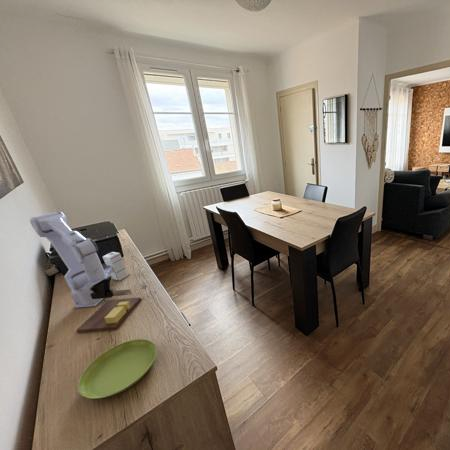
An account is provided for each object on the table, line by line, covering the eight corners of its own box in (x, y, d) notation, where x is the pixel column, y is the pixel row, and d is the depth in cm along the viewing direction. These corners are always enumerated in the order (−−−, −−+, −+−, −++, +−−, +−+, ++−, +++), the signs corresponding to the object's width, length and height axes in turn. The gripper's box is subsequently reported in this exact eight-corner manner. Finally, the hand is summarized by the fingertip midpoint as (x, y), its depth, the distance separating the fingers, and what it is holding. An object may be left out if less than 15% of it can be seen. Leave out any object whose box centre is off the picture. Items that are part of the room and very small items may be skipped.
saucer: (89, 422, 64) (85, 414, 63) (76, 376, 77) (72, 369, 76) (168, 366, 79) (166, 359, 78) (146, 336, 92) (143, 329, 90)
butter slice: (119, 310, 104) (116, 305, 103) (122, 307, 106) (119, 301, 105) (128, 309, 104) (126, 304, 103) (131, 306, 106) (129, 301, 105)
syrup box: (129, 275, 134) (120, 252, 128) (118, 281, 129) (109, 257, 123) (122, 273, 136) (113, 251, 130) (111, 279, 130) (101, 256, 125)
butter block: (106, 323, 97) (104, 318, 96) (117, 312, 103) (114, 307, 102) (116, 322, 97) (114, 317, 96) (126, 312, 103) (124, 306, 102)
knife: (92, 299, 102) (89, 294, 101) (96, 296, 104) (93, 291, 103) (130, 295, 103) (128, 291, 102) (133, 292, 105) (131, 287, 104)
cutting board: (77, 332, 95) (76, 329, 95) (108, 302, 112) (107, 300, 111) (116, 329, 96) (114, 326, 95) (141, 299, 112) (140, 297, 112)
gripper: (90, 277, 92) (102, 305, 97) (114, 258, 105) (125, 284, 110) (71, 279, 91) (85, 307, 96) (98, 260, 105) (109, 285, 110)
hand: (105, 295), depth 103 cm, fingers closed on knife, 2 cm apart
